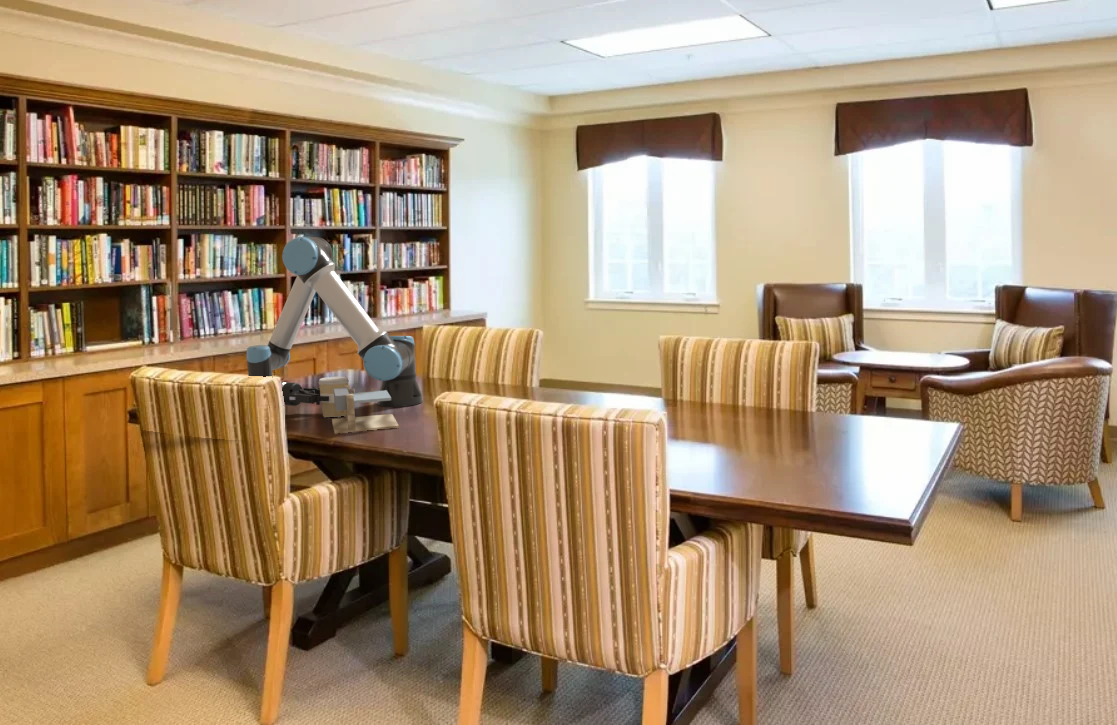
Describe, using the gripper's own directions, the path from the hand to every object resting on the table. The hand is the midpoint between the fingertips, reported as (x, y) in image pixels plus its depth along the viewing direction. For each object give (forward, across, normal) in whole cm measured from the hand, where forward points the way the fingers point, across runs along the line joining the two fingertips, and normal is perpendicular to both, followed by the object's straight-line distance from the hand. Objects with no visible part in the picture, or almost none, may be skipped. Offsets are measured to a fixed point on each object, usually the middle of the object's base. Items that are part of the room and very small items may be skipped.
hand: (346, 395), depth 290 cm
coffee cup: (-5, 0, -7) cm, 8 cm away
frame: (+13, +11, -6) cm, 18 cm away
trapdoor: (+12, +11, 0) cm, 17 cm away
